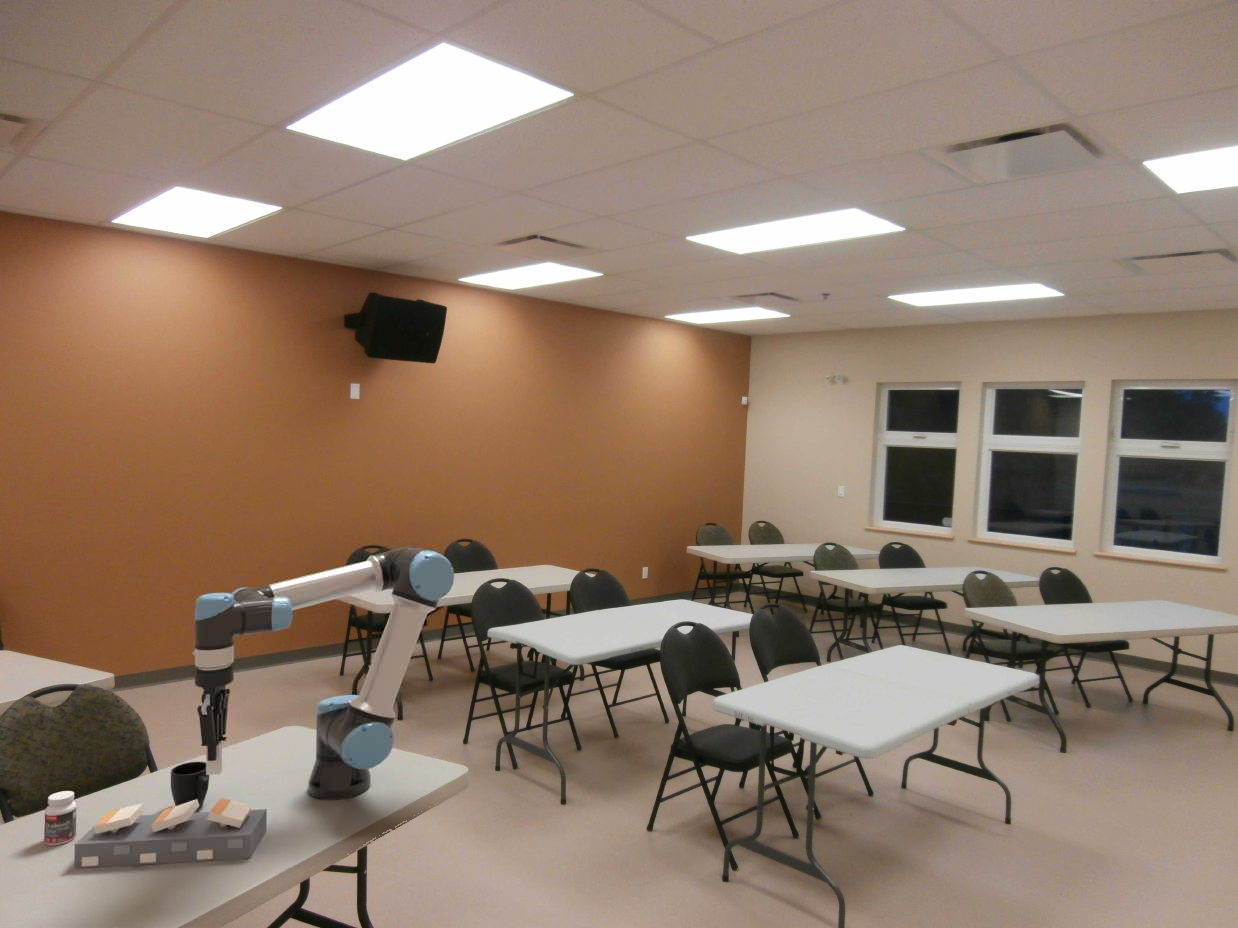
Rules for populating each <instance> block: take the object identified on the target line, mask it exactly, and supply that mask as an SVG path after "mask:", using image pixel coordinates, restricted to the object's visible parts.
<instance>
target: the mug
mask: <svg viewBox="0 0 1238 928" xmlns="http://www.w3.org/2000/svg"><path fill="white" fill-rule="evenodd" d="M209 785H210V775H206V761H190V762H185V763H182V764H178V765H176V766H174V767H173V768H172V769H171V771H170V789H171V791H170V792H171V796H172V800H173V803H174V806H178V805H181V804H184V803H187V802H190V801H193V800H196V799H197V800H198V803H199V807H198V808H197V809H196V811H197V810H199V809H201V808H202V807H203V805H204V802H205V799H206V796H207V793H208V790H209Z"/></svg>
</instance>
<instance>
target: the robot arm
mask: <svg viewBox="0 0 1238 928" xmlns="http://www.w3.org/2000/svg"><path fill="white" fill-rule="evenodd" d="M454 581H455V572H454V568H453V566H452V563H451V562H450V560H449V559H448V558H447V557H446V556H444V555H442V554H440V553H439V552H437V551H434V550H429V549H425V548H424V549H423V548H420V547H416V546H405V547H400V548H395V549H392V550H388V551H384V552H382V553H381V552H380V553H377V554H374V555H369V556H368V558H367V559H366V560H365V561H361V562H357V563H352V564H348V565H345V566H340V567H336V568H333V569H332V568H331V569H328V570H324V571H321V572H316V573H311V574H307V575H303V576H299V577H295V578H291V579H287V580H282V581H279V582H275V583H271V584H268V585H267V584H266V585H263V586H257V587H253V588H251V587H240V588H237V589H235V590H234V591H233V592H232V593H230V592H212V593H210V592H209V593H206V594H205V593H204V594H202V595H200V596H198V597H197V598H196V600H195V605H194V606H195V607H194V608H195V610H194V617H193V619H194V650H193V651H192V655H193V656H194V666H195V667H196V668H194V684H195V686H196V687H198V688H201V689H203V692H202V694H201V699H200V700H201V704H202V705H198V706H197V711H196V712H197V714H198V717H199V727H200V737H201V744H200V745H201V747H205V749H206V751H205V755H206V757H205V758H206V761H205V762H206V775H209V776H211V775H220V774H221V773H222V772H223V742H225V741H227V738H228V737H227V736H225V735H226V733H227V720H228V719H227V718H228V709H229V708H228V706H229V698H230V693H231V689H230V688H226V686H227V685H230V684H231V683H233V681H234V678H235V677H234V674H235V673H234V669H235V668H234V664H233V663H234V661H235V653H234V651H235V646H234V645H235V643H234V639H235V637H237V636H245V635H252V634H261V633H271V632H273V633H275V632H277V631H281V630H286V629H288V628H290V626H291V625H292V621H293V611H295V610H298V609H302V608H306V607H310V606H314V605H319V604H322V603H325V602H329V601H332V600H337V599H340V598H344V597H349V596H351V595H355V594H359V593H363V592H367V591H370V590H374V591H376V592H382V591H386V590H392V592H391V598H392V600H393V602H394V603H393V606H392V609H391V611H390V614H389V617H388V619H387V621H386V622H387V623H386V625H385V627H384V630H383V632H382V635H381V638H380V639H379V643H378V645H377V647H376V648H377V649H375V650H376V651H375V653H374V656H373V659H372V661H371V663H370V666H369V670H368V672H367V674H366V677H365V679H364V682H363V685H362V687H361V690H360V692H359V694H346V695H338V696H333V697H328V698H326V699H322V700H321V701H320V702H318V704H317V706H316V713H315V716H316V731H315V732H316V734H315V735H316V736H315V737H316V741H315V742H316V743H315V745H316V746H315V751H316V753H315V755H316V756H315V762H314V764H313V767H312V769H311V770H312V771H311V772H310V773H311V774H310V776H309V779H308V781H307V782H308V785H307V791H308V793H309V795H310V796H312V797H314V798H317V799H320V800H321V799H322V800H341V799H346V798H347V799H348V798H350V797H353V796H357V795H361V794H362V793H363V792H366V791H367V790H368V789H369V788H370V786H371V776H372V775H371V772H370V769H373V768H375V767H377V766H378V765H380V764H381V763H383V762H385V760H386V759H387V758H388V756H389V755H390V754H391V751H392V750H393V747H394V741H395V738H394V735H393V734H394V733H393V731H392V727H393V724H394V721H395V718H396V713H395V711H394V708H393V706H394V704H395V701H396V697H397V696H398V693H399V691H400V688H401V684H402V682H403V679H404V676H405V675H406V671H407V668H408V667H409V663H410V660H411V657H412V655H413V652H414V649H415V647H416V644H417V642H418V639H419V637H420V634H421V632H422V629H423V626H424V624H425V620H426V618H427V615H428V614H430V613H431V612H433V611H435V610H436V609H437V607H438V603H439V600H440V599H443V598H444V597H445V596H447V595H448V594H449V592H451V590H452V588H453V585H454Z"/></svg>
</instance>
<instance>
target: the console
mask: <svg viewBox="0 0 1238 928" xmlns="http://www.w3.org/2000/svg"><path fill="white" fill-rule="evenodd" d="M267 811H268V810H267V808H264V809H251V811H250V813H249V815H248V816H247V818H246V819H245V821H244V822H243V824H242V825H241V827H240V828H239V827H235V826H231V825H226V826H225V827H222V826H221V825H220V823H219V822H215V821H211V820H207V818H208V815H209V812H210V811H205V812H204V811H199V812H194V813H193V814H192V816H191V817H190V818H189V819H188V820H187V821H185V822H182V823H179V824H177V825H176V826H175V827H174V829H172V830H169V829H168V827H167V828H165V829H162V830H159V831H156V832H153V830H152V827H151V825H152V823H153V822H154V821H155V820H156V819H157V818H158V817H159V816H160V814H161V813H160V814H159V813H158V814H145V815H144V814H141V815H140V816H139V817H138V818H137V819H136V820H135V821H134V823H133V824H132V825H129V826H125V827H121V828H120V829H119V830H118V831H117V832H115V833H112V832H111V831H106V832H102V833H98V834H95V830H94V826H95V825H93V826H92V827H91V828H90V829H89V830H88V831H87V832H86V833H85V834H84V835H83V836H82V837H81V838H80V839H79V840H78V841H77V842H75V844H74V865H73V866H74V869H75V870H76V869H87V868H109V867H121V866H122V867H125V866H139V865H140V866H141V865H154V864H155V865H156V864H157V865H158V864H173V863H176V864H177V863H189V862H190V863H192V862H206V861H208V862H210V861H225V860H226V861H227V860H239V859H242V860H243V859H251V858H252V856H253V854H254V853H255V851H256V849H257V848H258V846H259V844H260V843H261V841H262V839H263V837H264V836H265V834H266V832H267V822H268V821H267V818H268V817H267V814H268V813H267Z"/></svg>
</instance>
